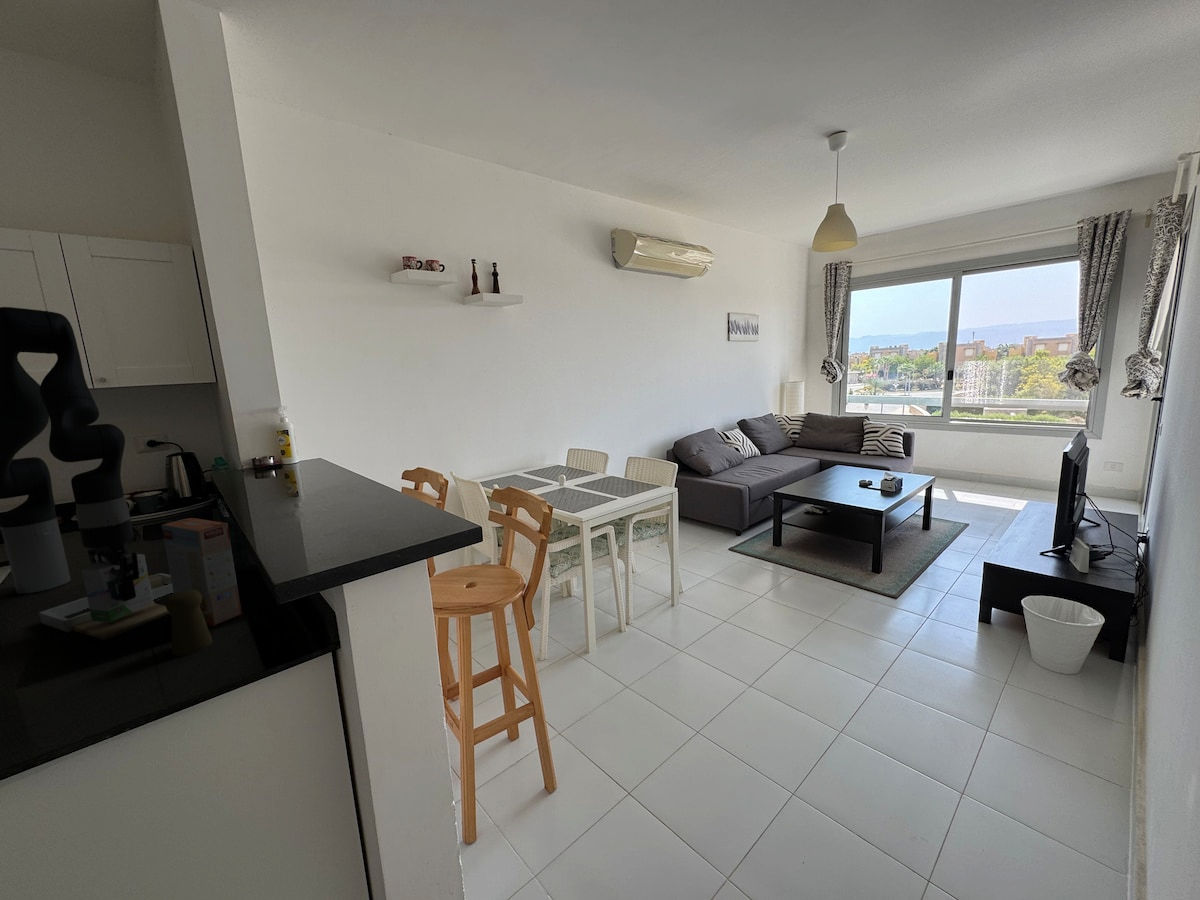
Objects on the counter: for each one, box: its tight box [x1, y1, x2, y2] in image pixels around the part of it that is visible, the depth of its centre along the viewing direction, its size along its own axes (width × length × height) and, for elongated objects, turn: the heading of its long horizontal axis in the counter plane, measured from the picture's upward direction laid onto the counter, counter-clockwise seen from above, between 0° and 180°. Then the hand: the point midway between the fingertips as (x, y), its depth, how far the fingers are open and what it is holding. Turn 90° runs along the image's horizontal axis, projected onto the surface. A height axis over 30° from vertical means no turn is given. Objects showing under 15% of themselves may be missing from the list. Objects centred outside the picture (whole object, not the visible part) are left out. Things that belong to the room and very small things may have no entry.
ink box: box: [81, 553, 155, 622], centre depth 102 cm, size 9×5×12 cm, turn 169°
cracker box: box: [160, 517, 243, 627], centre depth 103 cm, size 14×6×21 cm, turn 65°
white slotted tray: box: [38, 572, 173, 633], centre depth 111 cm, size 12×22×2 cm, turn 157°
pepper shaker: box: [165, 590, 213, 657], centre depth 91 cm, size 6×6×11 cm
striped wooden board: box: [73, 602, 170, 639], centre depth 103 cm, size 12×12×1 cm
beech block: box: [148, 574, 164, 590], centre depth 116 cm, size 4×4×4 cm
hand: (121, 596), depth 102 cm, fingers closed on ink box, 5 cm apart
